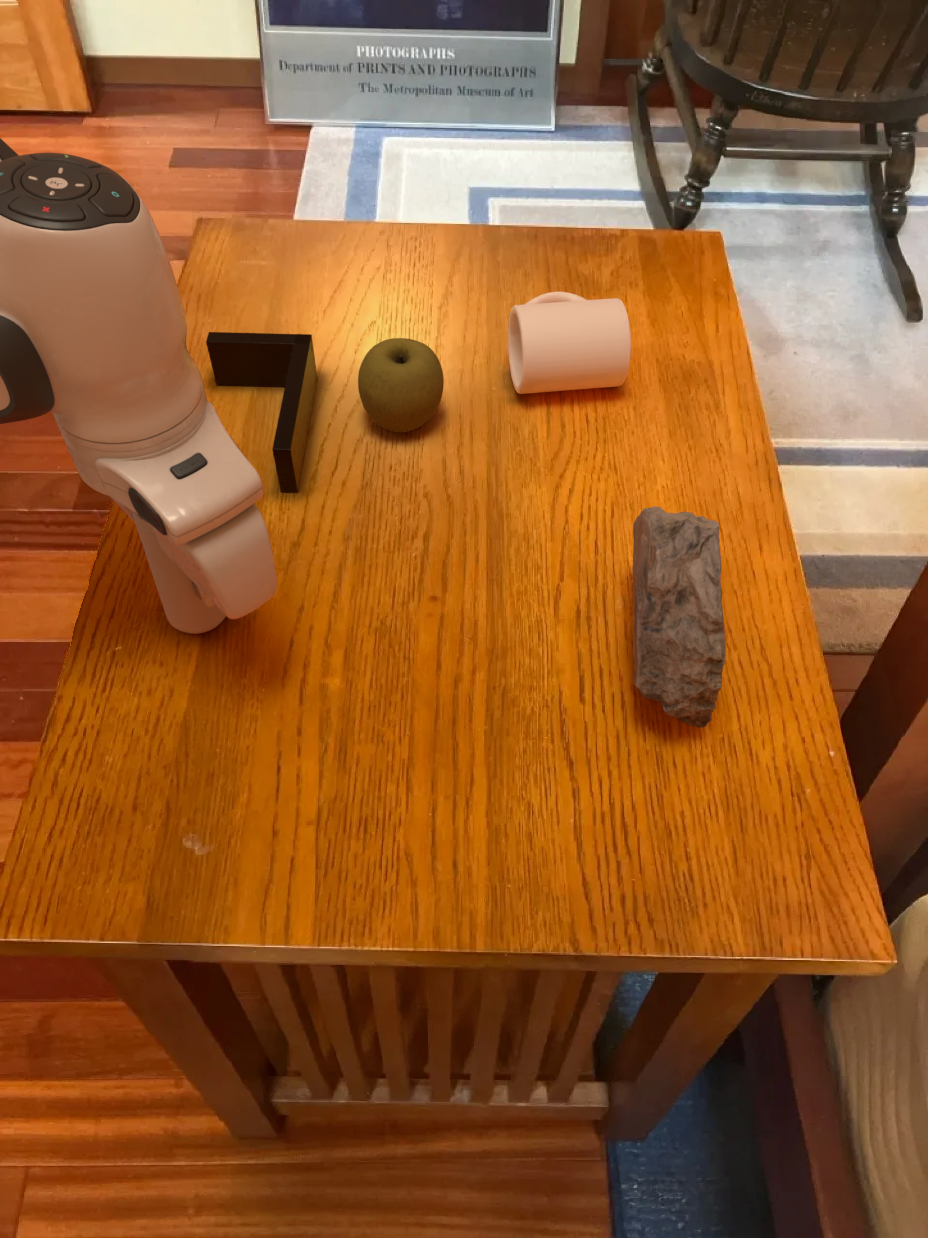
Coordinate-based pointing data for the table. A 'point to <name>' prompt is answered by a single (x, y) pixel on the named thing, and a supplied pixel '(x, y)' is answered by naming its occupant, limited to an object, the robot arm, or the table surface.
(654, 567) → the decorative rock
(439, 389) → the apple
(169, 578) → the beverage can
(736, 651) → the table surface
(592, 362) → the mug
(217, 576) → the robot arm
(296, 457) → the bracket
